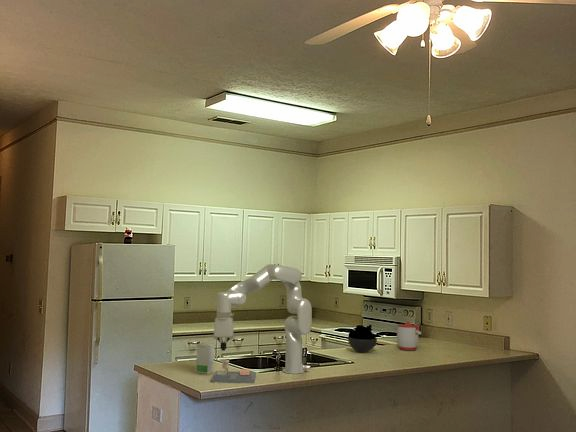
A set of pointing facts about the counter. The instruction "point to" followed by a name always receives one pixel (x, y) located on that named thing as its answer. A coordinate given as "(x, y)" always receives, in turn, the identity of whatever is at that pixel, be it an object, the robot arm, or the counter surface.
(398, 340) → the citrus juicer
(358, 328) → the bowl of black rocks
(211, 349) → the skincare box
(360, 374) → the counter surface
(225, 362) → the birch paddle
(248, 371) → the terracotta button
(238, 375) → the switch panel
